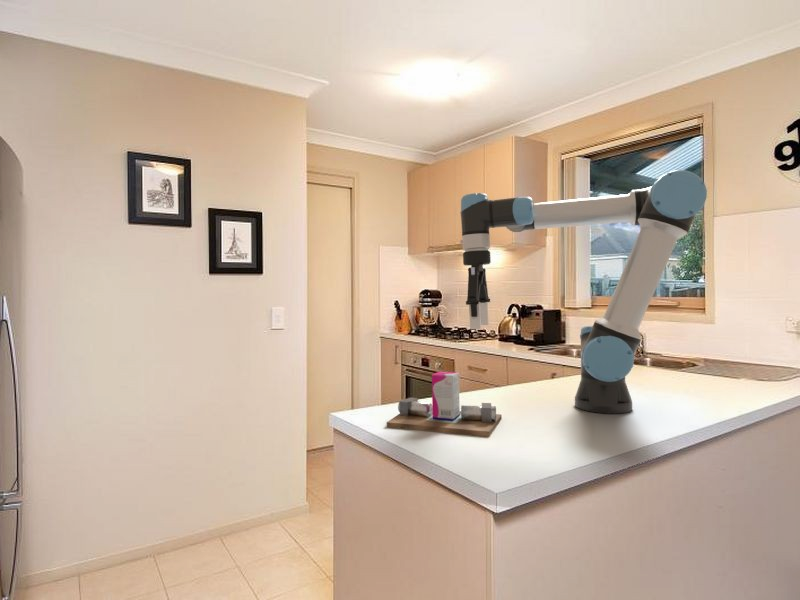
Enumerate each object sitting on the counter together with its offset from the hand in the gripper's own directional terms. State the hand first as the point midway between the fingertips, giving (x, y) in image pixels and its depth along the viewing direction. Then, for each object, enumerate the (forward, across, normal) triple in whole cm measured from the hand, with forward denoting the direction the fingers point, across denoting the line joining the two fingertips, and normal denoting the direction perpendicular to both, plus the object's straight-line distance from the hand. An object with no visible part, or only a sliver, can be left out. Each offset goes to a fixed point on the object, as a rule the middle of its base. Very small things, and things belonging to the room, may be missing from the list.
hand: (479, 327), depth 138 cm
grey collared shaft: (+22, +13, +1) cm, 26 cm away
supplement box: (+22, +14, -7) cm, 27 cm away
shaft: (+22, +13, -16) cm, 30 cm away
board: (+23, +14, -8) cm, 28 cm away
